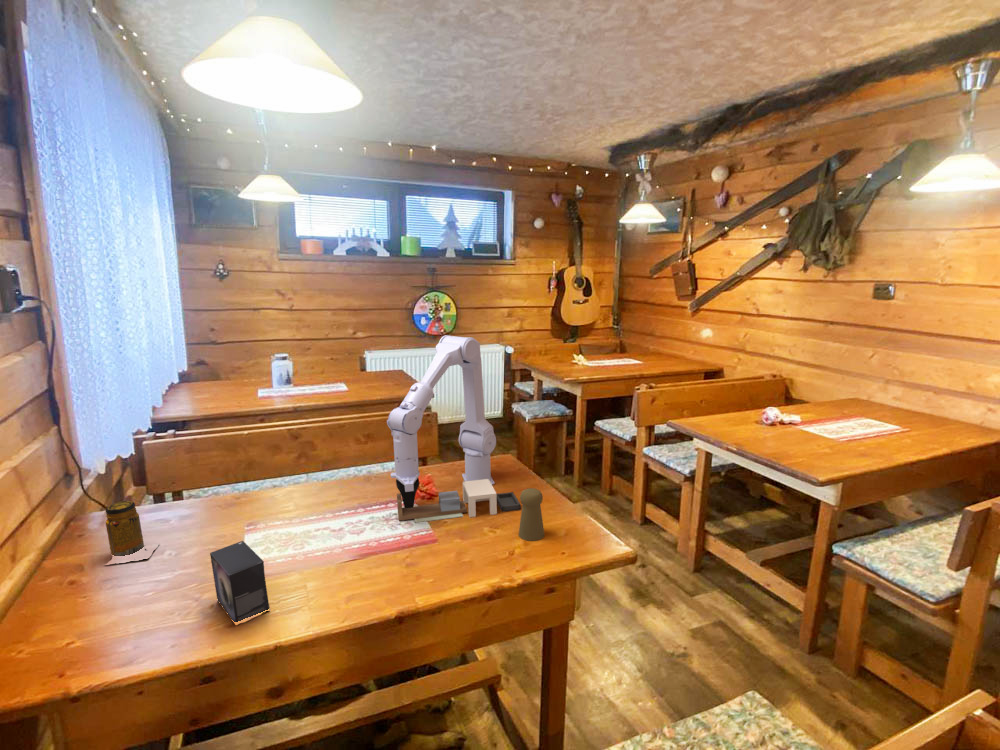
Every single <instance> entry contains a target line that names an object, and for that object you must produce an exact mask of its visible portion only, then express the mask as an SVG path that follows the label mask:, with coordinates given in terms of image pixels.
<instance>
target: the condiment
mask: <svg viewBox="0 0 1000 750" xmlns="http://www.w3.org/2000/svg"><path fill="white" fill-rule="evenodd" d="M105 513H106V521H105V527H106V528H105V529H106V532H107V538H108V539H107V540H108V544H109V550H110V555H111V554H112V555H114V556H125V555H130V554H133V553H135V552H137V551H139V550H140V549H142V548H143V547H144V546H145V545H144V537H143V531H142V527H141V521H140V519H141V518H140V514H139V513H138V512H137V508H136V503H135V502H134V501H131V500H124V501H123V500H122V501H118V502H115V503H113V504H110V505H109V506H107V507H106V508H105Z"/></svg>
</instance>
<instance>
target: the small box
mask: <svg viewBox="0 0 1000 750" xmlns="http://www.w3.org/2000/svg"><path fill="white" fill-rule="evenodd" d="M209 555H210V563H211V568H212V574H213V581H214V587H215V588H214V589H215V593H216V600H217V599H218V601H219V602H220V604H221V605H222V606H223V608H224V609H225V611H226V612H227V613H228V615H229V616H230V617H231V619H232V620H233V621H234V622H238V621H241V620H243V619H245V618H248V617H251V616H253V615H256V614H258V613H261V612H263V611H265V610H268V609H269V608H270V602H269V597H268V589H267V588H268V587H267V582H266V575H265V563H264V560H263V559H262V558H261V557H260V556H259V555H258V554H257V553H256V552H255V551H254V550H253V549H252V548H251V547H250V546H249V545H248V544H247V543H246V542H245V541H244V540H241V541H238V542H236V543H233V544H231V545H227V546H225V547H223V548H219V549H217V550H214V551H212V552H209ZM218 601H217V602H218ZM219 602H218V603H219ZM220 604H219V605H220ZM221 605H220V606H221ZM223 608H222V609H223ZM224 609H223V610H224ZM270 609H271V608H270ZM225 611H224V612H225ZM226 612H225V613H226ZM227 613H226V614H227ZM228 615H227V616H228ZM229 616H228V617H229ZM230 617H229V618H230ZM231 619H230V620H231ZM232 620H231V621H232ZM233 621H232V622H233Z"/></svg>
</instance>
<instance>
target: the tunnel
mask: <svg viewBox="0 0 1000 750" xmlns="http://www.w3.org/2000/svg"><path fill="white" fill-rule="evenodd" d="M496 494H497V491H496V490H495V488H494V487H493V485H492V484H491V483H490V481H489V479H483V480H473V481H464V480H463V481H462V499H463V500H462V501H464V503H465V504H468V507H467V508H468V517H469V518H476V516H477V511H476V509H477V508H476V503H477V502H485V501H486V502H487V501H489V515H490V516H494V515H497V514H498V511H497V510H498V509H497V507H498V506H497V505H498V504H497V495H496Z"/></svg>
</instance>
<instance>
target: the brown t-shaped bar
mask: <svg viewBox="0 0 1000 750" xmlns="http://www.w3.org/2000/svg"><path fill="white" fill-rule="evenodd" d="M396 503H397V507H396V508H397V517H398V521H405V520H412V519H413V520H414V519H415V518H423V517H432V516H440V515H448V514H457V513H462V514H463V513H467V511H468V510H467V506H466V503H464V501H463V500H461V498H460V495H459V492H458V490H451V491H441V492H438V503H432V504H422V505H414V506H413V508H406V509H405V507H403V500H402V496H401V493H400V492H399V493H396Z"/></svg>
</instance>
